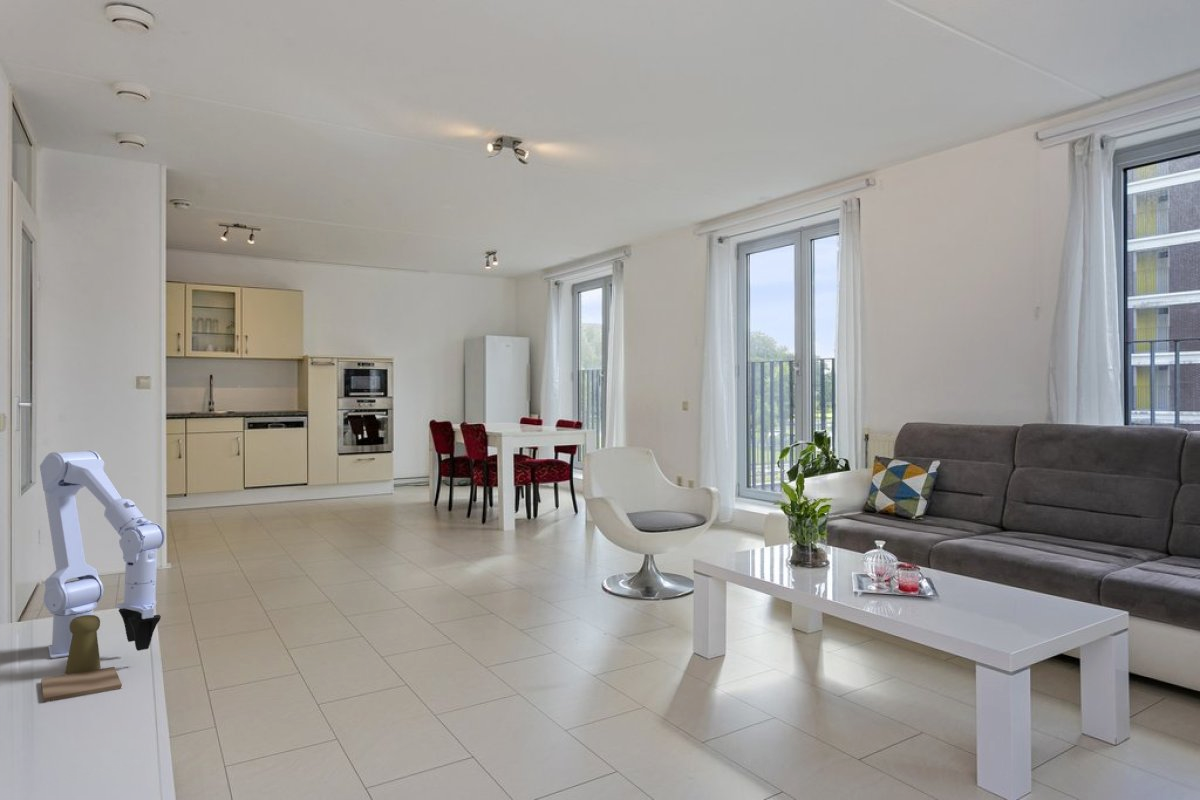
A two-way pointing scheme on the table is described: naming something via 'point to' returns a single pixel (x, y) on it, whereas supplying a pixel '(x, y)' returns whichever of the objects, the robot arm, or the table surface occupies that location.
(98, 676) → the light brown board
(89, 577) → the robot arm
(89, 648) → the cork
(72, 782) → the table surface
